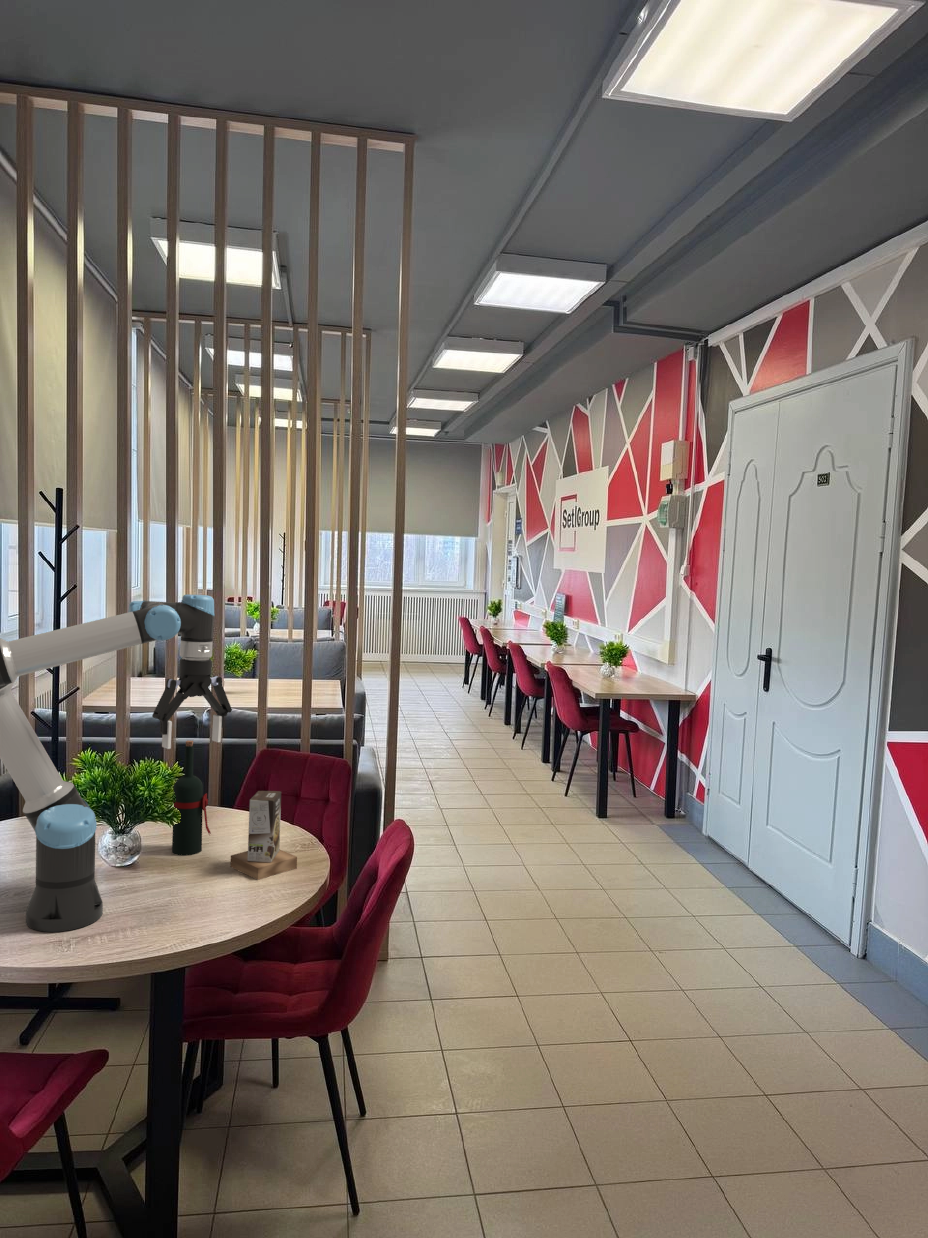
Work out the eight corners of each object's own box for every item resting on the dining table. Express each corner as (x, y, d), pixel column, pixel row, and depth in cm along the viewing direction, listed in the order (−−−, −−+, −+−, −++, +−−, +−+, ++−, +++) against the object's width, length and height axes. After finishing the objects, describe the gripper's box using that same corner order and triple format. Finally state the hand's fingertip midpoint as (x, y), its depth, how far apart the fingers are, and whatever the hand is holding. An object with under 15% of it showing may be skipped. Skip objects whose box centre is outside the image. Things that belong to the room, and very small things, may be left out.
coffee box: (272, 863, 212) (274, 800, 211) (246, 861, 212) (248, 799, 211) (280, 850, 222) (282, 790, 220) (256, 849, 222) (258, 789, 221)
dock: (257, 880, 209) (258, 868, 209) (230, 866, 217) (230, 855, 216) (296, 868, 218) (297, 856, 218) (268, 856, 226) (269, 845, 225)
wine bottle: (207, 856, 223) (210, 745, 221) (167, 855, 223) (170, 744, 221) (213, 846, 231) (216, 738, 229) (175, 845, 230) (178, 737, 228)
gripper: (156, 662, 192) (152, 753, 193) (248, 658, 211) (244, 741, 212) (139, 658, 197) (135, 747, 198) (231, 654, 216) (227, 736, 217)
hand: (191, 744), depth 205 cm, fingers open, 13 cm apart
